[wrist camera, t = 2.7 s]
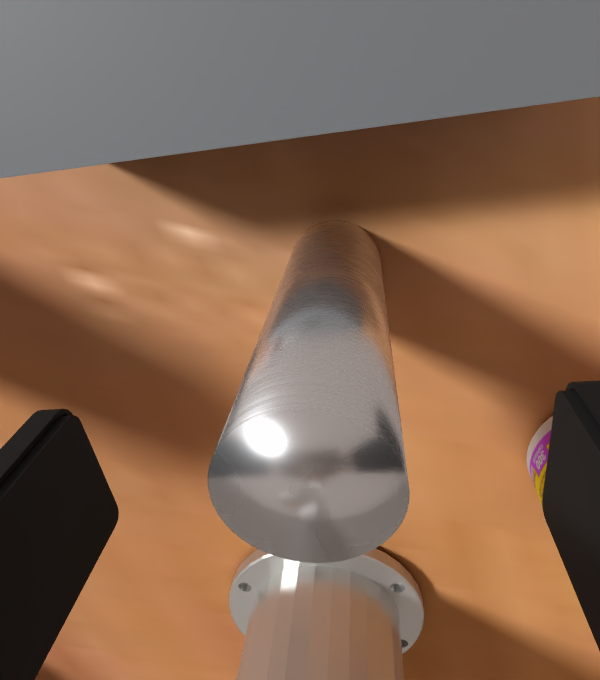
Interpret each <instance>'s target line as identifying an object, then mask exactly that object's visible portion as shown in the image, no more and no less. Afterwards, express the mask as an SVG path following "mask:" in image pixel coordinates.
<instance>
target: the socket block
mask: <svg viewBox="0 0 600 680" xmlns="http://www.w3.org/2000/svg"><path fill="white" fill-rule="evenodd" d="M592 97H600V0H0V178H6V177H13V176H20V175H28V174H35V173H42V172H50V171H57V170H64V169H72V168H79V167H86V166H94V165H101V164H108V163H116V162H123V161H130V160H138V159H145V158H152V157H160V156H167V155H174V154H182V153H189V152H196V151H204V150H211V149H218V148H226V147H233V146H240V145H248V144H255V143H262V142H270V141H277V140H284V139H292V138H299V137H306V136H314V135H321V134H328V133H336V132H343V131H350V130H358V129H365V128H372V127H380V126H387V125H394V124H402V123H409V122H416V121H424V120H431V119H438V118H446V117H453V116H460V115H468V114H475V113H482V112H490V111H497V110H504V109H512V108H519V107H526V106H534V105H541V104H548V103H556V102H563V101H570V100H578V99H585V98H592Z"/></svg>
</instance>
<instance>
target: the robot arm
mask: <svg viewBox="0 0 600 680" xmlns="http://www.w3.org/2000/svg"><path fill="white" fill-rule="evenodd" d="M542 506H543V512H544V516H545V519H546V522H547V524H548V527H549V529H550V532H551V534H552V536H553V539H554V541H555V544H556V546H557V549H558V551H559V553H560V556H561V558H562V561H563V563H564V566H565V568H566V570H567V573H568V575H569V578H570V580H571V583H572V585H573V587H574V590H575V592H576V595H577V597H578V600H579V602H580V604H581V607H582V609H583V612H584V614H585V617H586V619H587V621H588V624H589V626H590V629H591V631H592V634H593V636H594V638H595V641H596V643H597V646H598V648H599V651H600V381H584V382H571V383H569V384H568V386H567V388H566V391H558V392H557V394H556V398H555V405H554V413H553V420H552V428H551V436H550V443H549V451H548V459H547V466H546V474H545V481H544V489H543V497H542ZM118 514H119V512H118V507H117V504H116V502H115V499H114V497H113V495H112V492H111V490H110V488H109V485H108V483H107V481H106V479H105V476H104V474H103V472H102V469H101V467H100V465H99V462H98V460H97V458H96V456H95V453H94V451H93V449H92V446H91V444H90V442H89V439H88V437H87V435H86V432H85V430H84V428H83V426H82V423H81V421H80V419H79V418H78V417H77V416H74V415H73V414H72V413H71V412H70V411H69V410H67V409H54V410H40V411H37V412H35V413H34V414H33V415H32V416H31V417H30V418H29V419H28V420H27V421H26V422H25V423H24V424H23V426H22V427H21V428H20V429H19V430H18V431H17V432H16V433H15V434H14V435H13V436H12V437H11V438H10V439H9V441H8V442H7V443H6V444H5V445H4V446H3V447H2V448H1V449H0V680H35V678H36V676H37V674H38V672H39V670H40V668H41V666H42V664H43V662H44V661H45V659H46V657H47V655H48V653H49V651H50V649H51V647H52V645H53V644H54V642H55V640H56V638H57V636H58V634H59V632H60V630H61V628H62V626H63V625H64V623H65V621H66V619H67V617H68V615H69V613H70V611H71V609H72V608H73V606H74V604H75V602H76V600H77V598H78V596H79V594H80V592H81V590H82V589H83V587H84V585H85V583H86V581H87V579H88V577H89V575H90V573H91V572H92V570H93V568H94V566H95V564H96V562H97V560H98V558H99V556H100V554H101V553H102V551H103V549H104V547H105V545H106V543H107V541H108V539H109V537H110V536H111V534H112V532H113V530H114V528H115V526H116V524H117V521H118ZM229 609H230V612H231V615H232V618H233V620H234V622H235V624H236V625H237V627H238V629H239V630H240V631H241V632H242V633H243V635H244V636H245V640H244V645H243V650H242V655H241V659H240V664H239V669H238V674H237V679H236V680H404V670H403V657H402V654H403V653H405V652H406V651H407V650H408V649H410V648H411V646H412V645H413V644H414V643H415V642H416V640H417V639H418V637H419V635H420V633H421V631H422V629H423V623H424V608H423V600H422V595H421V593H420V590H419V587H418V584H417V583H416V581H415V580H414V578H413V577H412V575H411V574H410V573H409V572H408V571H407V570H406V569H405V568H404V567H403V566H402V565H401V564H400V563H399V562H398V561H396V560H395V559H393V558H392V557H390V556H389V555H387V554H386V553H384V552H382V551H380V550H378V549H376V548H375V549H374V550H372V551H370V552H368V553H366V554H363V555H360V556H358V557H355V558H352V559H347V560H343V561H337V562H330V563H306V562H298V561H292V560H288V559H283V558H280V557H277V556H274V555H271V554H268V553H266V552H264V551H261V550H259V549H257V550H256V551H255V552H253V553H252V554H251V555H249V556H248V557H247V558H246V559H245V560H244V561H243V562H242V563H241V565H240V566H239V567H238V569H237V571H236V573H235V575H234V577H233V580H232V585H231V589H230V593H229Z"/></svg>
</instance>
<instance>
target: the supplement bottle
mask: <svg viewBox="0 0 600 680" xmlns="http://www.w3.org/2000/svg"><path fill="white" fill-rule="evenodd" d="M552 420H553V416H552V417H550V418H549V419H548V420H547V421H546V422H544V423H543V424H542V425H541V426H540V428H539V429H538V430H537V431H536V433H535V434H534V436H533V437H532V439H531V442H530V444H529V447H528V451H527V467H528V471H529V474H530V477H531V479H532V482H533V484H534V487H535V489H536V491H537V494H538V496H539V499H540V501H541V503H542V497H543V489H544V481H545V474H546V466H547V459H548V451H549V443H550V436H551V428H552Z"/></svg>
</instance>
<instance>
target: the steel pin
mask: <svg viewBox="0 0 600 680" xmlns="http://www.w3.org/2000/svg"><path fill="white" fill-rule="evenodd" d="M208 489H209V494H210V498H211V500H212V503H213V506H214V507H215V509H216V511H217V513H218V515H219V516H220V517H221V519H222V520H223V522H224V523H225V524H226V525H227V526H228V527H229V528H230V529H231V530H232V531H233V532H234V533H235V534H236V535H237V536H239V537H240V538H241V539H243V540H244V541H246V542H247V543H249V544H250V545H252V546H254V547H256V548H257V549H259V550H261V551H264V552H266V553H268V554H271V555H274V556H277V557H280V558H283V559H288V560H292V561H298V562H306V563H330V562H337V561H343V560H347V559H352V558H355V557H358V556H360V555H363V554H366V553H368V552H370V551H372V550H374V549H375V548H377V547H378V546H380V545H381V544H383V543H384V542H385V541H386V540H388V539H389V538H390V537H391V536H392V535H393V534H394V533H395V531H396V530H397V529H398V528H399V526H400V525H401V523H402V521H403V519H404V517H405V515H406V512H407V509H408V504H409V484H408V476H407V468H406V460H405V452H404V444H403V436H402V428H401V420H400V412H399V405H398V397H397V389H396V381H395V373H394V365H393V357H392V349H391V341H390V333H389V325H388V317H387V309H386V301H385V293H384V286H383V278H382V270H381V262H380V255H379V251H378V248H377V246H376V244H375V242H374V240H373V239H372V238H371V236H370V235H369V234H368V233H367V232H366V231H365V230H363V229H362V228H360V227H359V226H357V225H355V224H352V223H350V222H346V221H339V220H333V221H325V222H322V223H319V224H317V225H314V226H313V227H311V228H309V229H308V230H307V231H306V232H305V233H303V235H302V236H301V237H300V238H299V240H298V241H297V243H296V245H295V247H294V249H293V252H292V254H291V257H290V259H289V262H288V264H287V267H286V270H285V272H284V275H283V277H282V280H281V282H280V285H279V288H278V290H277V293H276V295H275V298H274V300H273V303H272V306H271V308H270V311H269V313H268V316H267V318H266V321H265V324H264V326H263V329H262V331H261V334H260V336H259V339H258V342H257V344H256V347H255V349H254V352H253V354H252V357H251V360H250V362H249V365H248V367H247V370H246V372H245V375H244V377H243V380H242V383H241V385H240V388H239V390H238V393H237V395H236V398H235V401H234V403H233V406H232V408H231V411H230V413H229V416H228V419H227V421H226V424H225V426H224V429H223V431H222V434H221V437H220V439H219V442H218V444H217V447H216V449H215V452H214V455H213V457H212V460H211V463H210V466H209V472H208Z"/></svg>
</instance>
